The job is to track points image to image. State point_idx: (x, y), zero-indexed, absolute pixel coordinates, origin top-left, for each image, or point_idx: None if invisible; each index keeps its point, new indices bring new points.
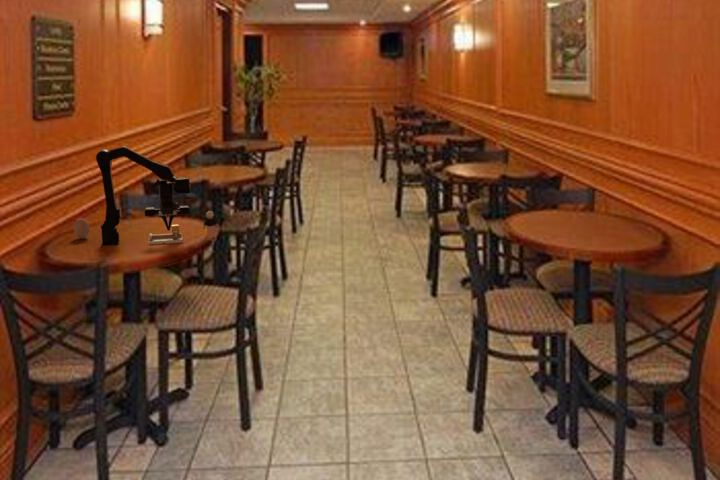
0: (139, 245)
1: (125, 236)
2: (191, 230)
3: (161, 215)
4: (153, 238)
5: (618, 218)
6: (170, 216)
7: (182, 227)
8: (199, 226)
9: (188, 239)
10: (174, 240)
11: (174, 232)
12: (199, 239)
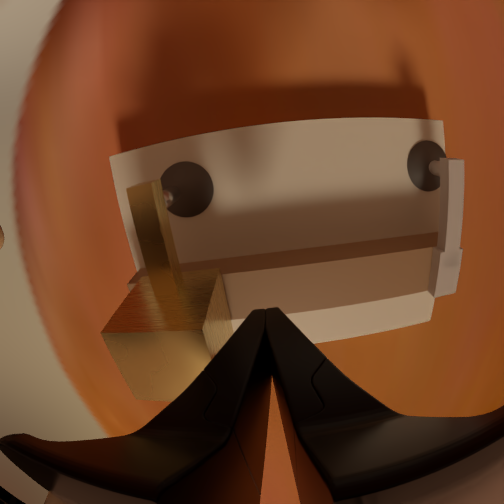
0: (480, 115)
1: (490, 374)
2: None
3: (477, 481)
4: (412, 237)
5: None
6: (132, 472)
7: None
8: None
9: (106, 271)
10: (187, 137)
11: (189, 278)
12: (40, 257)
